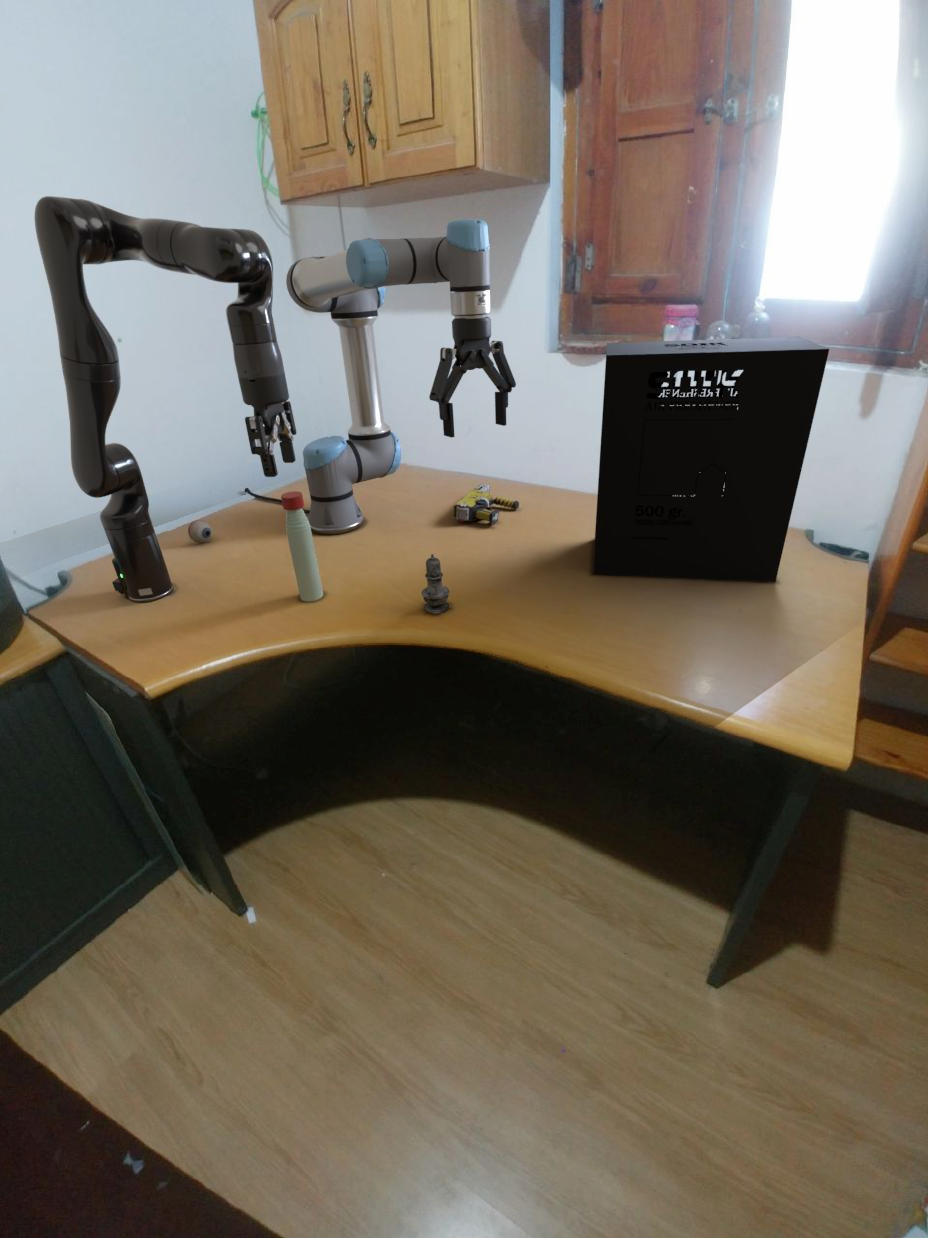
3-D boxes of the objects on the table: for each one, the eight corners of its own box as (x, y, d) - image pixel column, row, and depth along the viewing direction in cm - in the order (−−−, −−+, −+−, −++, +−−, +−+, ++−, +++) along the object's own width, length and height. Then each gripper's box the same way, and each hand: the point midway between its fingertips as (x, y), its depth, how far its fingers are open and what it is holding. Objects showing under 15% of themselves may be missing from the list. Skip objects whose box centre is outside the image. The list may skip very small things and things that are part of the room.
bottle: (319, 601, 130) (299, 500, 119) (297, 601, 131) (275, 500, 119) (326, 591, 134) (307, 492, 123) (305, 590, 135) (284, 492, 123)
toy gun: (527, 488, 179) (479, 481, 183) (505, 513, 159) (452, 504, 162) (525, 503, 181) (478, 496, 185) (503, 529, 161) (451, 520, 165)
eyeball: (201, 547, 160) (195, 526, 157) (186, 543, 163) (180, 522, 160) (220, 539, 164) (214, 518, 161) (205, 536, 167) (199, 515, 164)
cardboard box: (755, 543, 144) (798, 336, 121) (775, 581, 127) (829, 348, 104) (594, 538, 151) (606, 342, 129) (592, 573, 134) (606, 355, 112)
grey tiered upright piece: (447, 614, 122) (443, 560, 116) (419, 613, 123) (413, 559, 117) (453, 601, 127) (450, 548, 121) (426, 599, 128) (421, 547, 122)
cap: (300, 510, 120) (297, 497, 119) (280, 510, 121) (277, 498, 119) (307, 503, 124) (304, 491, 122) (287, 503, 124) (285, 491, 123)
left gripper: (257, 366, 106) (276, 458, 114) (219, 379, 94) (243, 481, 102) (298, 365, 105) (314, 457, 113) (265, 378, 93) (285, 481, 101)
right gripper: (427, 323, 106) (436, 444, 117) (533, 311, 118) (532, 422, 129) (405, 321, 112) (415, 438, 122) (508, 311, 124) (509, 417, 134)
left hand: (280, 469), depth 108 cm, fingers open, 8 cm apart
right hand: (475, 430), depth 126 cm, fingers open, 13 cm apart
